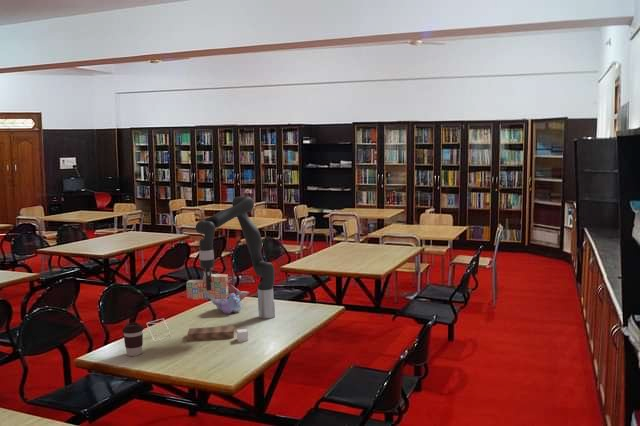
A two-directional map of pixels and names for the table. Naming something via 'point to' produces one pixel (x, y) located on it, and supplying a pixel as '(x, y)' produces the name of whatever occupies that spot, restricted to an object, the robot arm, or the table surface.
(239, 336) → the pale grey cube
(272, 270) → the robot arm
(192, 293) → the stack of blocks
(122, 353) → the table surface
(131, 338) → the coffee cup
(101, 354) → the table surface
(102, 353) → the table surface
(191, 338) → the walnut plinth
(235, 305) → the lumpy periwinkle toy figure
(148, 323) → the geometric polyhedron
